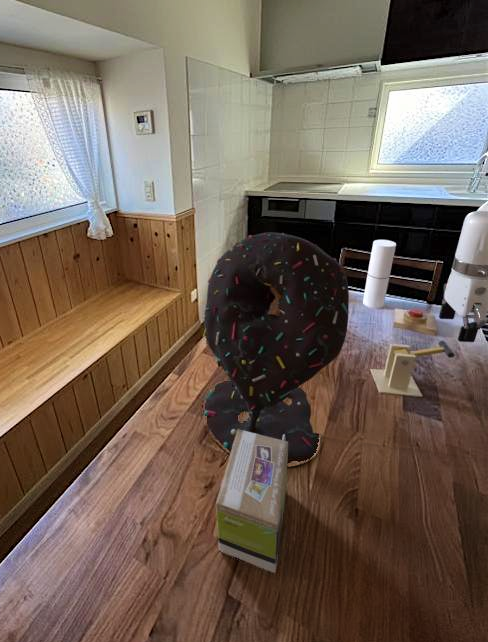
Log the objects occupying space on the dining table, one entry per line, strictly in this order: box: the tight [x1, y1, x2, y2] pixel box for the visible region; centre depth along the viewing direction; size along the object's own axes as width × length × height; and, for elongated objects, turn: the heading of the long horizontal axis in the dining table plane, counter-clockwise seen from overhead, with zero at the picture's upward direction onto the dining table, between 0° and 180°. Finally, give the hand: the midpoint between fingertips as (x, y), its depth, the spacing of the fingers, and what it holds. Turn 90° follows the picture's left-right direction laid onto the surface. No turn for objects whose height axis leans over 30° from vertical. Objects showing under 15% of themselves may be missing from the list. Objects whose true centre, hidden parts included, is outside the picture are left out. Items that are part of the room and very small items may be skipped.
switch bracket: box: [370, 343, 423, 398], centre depth 89 cm, size 10×9×12 cm
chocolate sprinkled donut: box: [202, 231, 350, 464], centre depth 77 cm, size 30×32×45 cm
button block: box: [392, 307, 438, 337], centre depth 115 cm, size 12×10×4 cm
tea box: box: [215, 429, 288, 574], centre depth 60 cm, size 15×10×15 cm, turn 159°
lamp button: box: [409, 307, 424, 318], centre depth 114 cm, size 4×4×2 cm
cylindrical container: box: [362, 239, 397, 309], centre depth 125 cm, size 7×7×25 cm
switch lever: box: [394, 340, 455, 358], centre depth 86 cm, size 12×5×2 cm, turn 77°
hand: (455, 329), depth 83 cm, fingers open, 9 cm apart
